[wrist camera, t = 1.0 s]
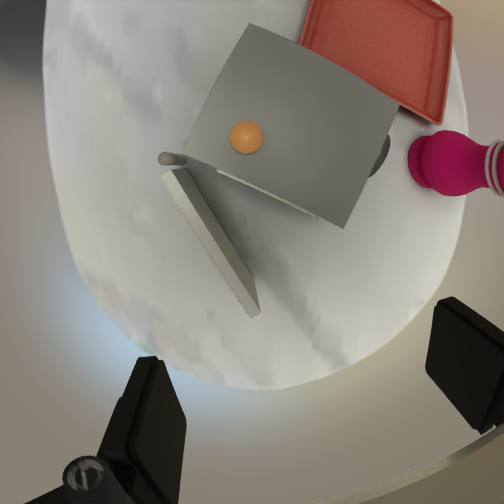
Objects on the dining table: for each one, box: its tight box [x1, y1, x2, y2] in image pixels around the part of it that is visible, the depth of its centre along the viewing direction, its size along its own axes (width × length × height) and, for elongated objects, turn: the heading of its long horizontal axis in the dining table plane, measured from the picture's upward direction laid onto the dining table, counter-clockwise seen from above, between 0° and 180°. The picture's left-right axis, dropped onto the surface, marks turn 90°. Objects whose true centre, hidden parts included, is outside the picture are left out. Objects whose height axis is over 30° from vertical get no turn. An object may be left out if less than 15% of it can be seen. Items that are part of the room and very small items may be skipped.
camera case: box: [181, 23, 399, 229], centre depth 25 cm, size 12×15×9 cm
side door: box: [158, 152, 261, 318], centre depth 27 cm, size 2×15×8 cm, turn 30°
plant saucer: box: [298, 0, 453, 126], centre depth 25 cm, size 18×18×3 cm
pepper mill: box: [408, 130, 504, 197], centre depth 21 cm, size 7×7×20 cm
